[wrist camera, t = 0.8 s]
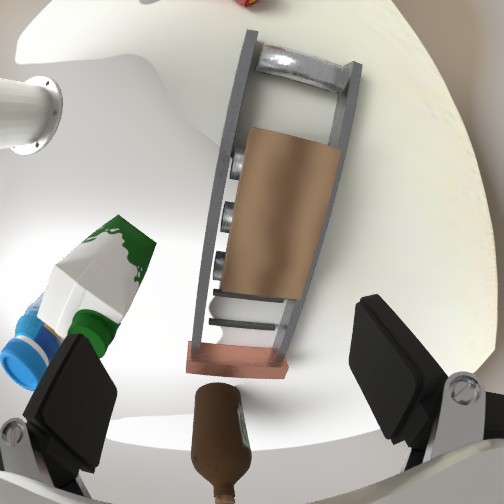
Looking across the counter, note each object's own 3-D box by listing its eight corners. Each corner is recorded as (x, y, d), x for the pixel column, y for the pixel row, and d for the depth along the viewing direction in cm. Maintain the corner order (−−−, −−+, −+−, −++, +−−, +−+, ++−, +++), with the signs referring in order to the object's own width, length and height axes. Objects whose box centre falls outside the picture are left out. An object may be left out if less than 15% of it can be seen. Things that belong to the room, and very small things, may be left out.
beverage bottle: (63, 260, 37) (-6, 334, 19) (102, 290, 40) (50, 379, 21) (49, 294, 39) (-7, 368, 20) (85, 321, 42) (41, 405, 23)
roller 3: (229, 176, 36) (230, 180, 32) (234, 147, 34) (236, 148, 30) (313, 193, 38) (323, 199, 34) (320, 166, 36) (331, 169, 33)
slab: (221, 276, 37) (222, 291, 33) (249, 129, 30) (253, 127, 26) (293, 284, 38) (300, 299, 35) (328, 148, 32) (341, 149, 28)
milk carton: (135, 283, 40) (93, 379, 22) (90, 250, 37) (21, 327, 19) (165, 241, 38) (127, 329, 20) (116, 204, 35) (38, 264, 17)
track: (187, 353, 46) (185, 372, 42) (240, 37, 28) (243, 23, 24) (278, 360, 49) (284, 379, 45) (355, 70, 31) (372, 63, 27)
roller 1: (212, 271, 41) (212, 284, 37) (216, 246, 39) (216, 257, 35) (290, 281, 43) (296, 294, 39) (296, 257, 41) (304, 269, 38)
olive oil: (195, 409, 53) (196, 509, 30) (189, 380, 49) (186, 495, 26) (242, 408, 54) (257, 507, 31) (243, 378, 50) (260, 493, 27)
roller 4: (255, 73, 30) (259, 65, 26) (261, 48, 29) (266, 38, 25) (333, 95, 32) (345, 91, 28) (338, 71, 31) (350, 64, 27)
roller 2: (220, 226, 38) (220, 236, 34) (225, 198, 37) (226, 205, 33) (301, 239, 40) (310, 249, 37) (308, 213, 39) (318, 221, 35)
